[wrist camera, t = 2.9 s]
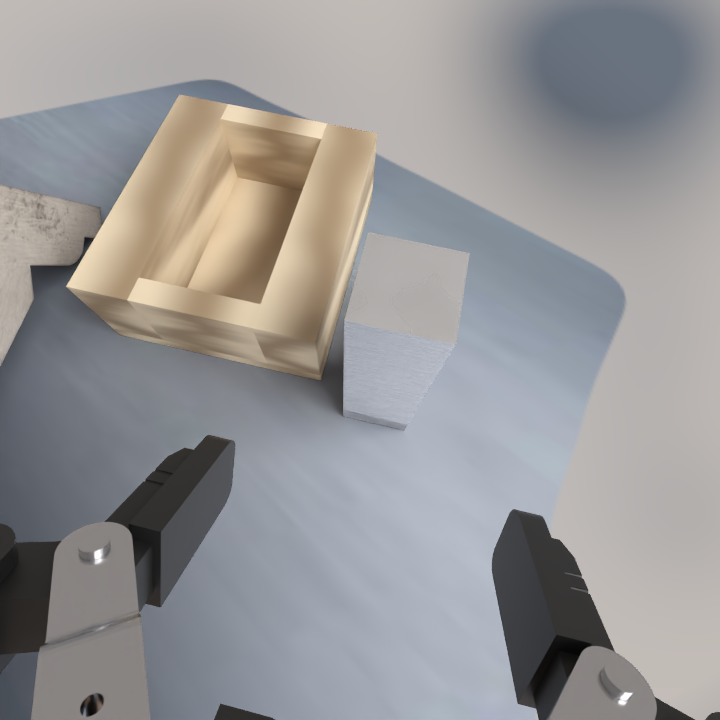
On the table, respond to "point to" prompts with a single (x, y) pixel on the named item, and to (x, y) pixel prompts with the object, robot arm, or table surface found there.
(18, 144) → the table surface
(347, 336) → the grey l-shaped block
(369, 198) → the beech well block
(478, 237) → the table surface
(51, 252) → the grey letter a
